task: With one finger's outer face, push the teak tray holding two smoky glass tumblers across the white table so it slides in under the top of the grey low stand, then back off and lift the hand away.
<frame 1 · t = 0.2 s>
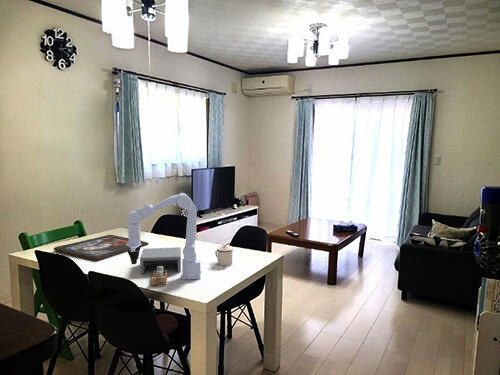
hand: (135, 261, 184), 10 cm above the table, tool pointing down, fingers open, 7 cm apart
grey low stand: (161, 267, 205), on the table
teak tray: (159, 279, 186), on the table
teacup with lid: (223, 263, 214), on the table
religious icon: (102, 249, 241), on the table
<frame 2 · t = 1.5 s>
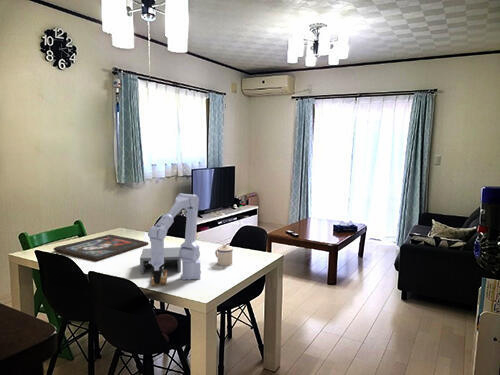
hand: (157, 280, 170), 6 cm above the table, tool pointing down, fingers open, 7 cm apart
nothing on the table moved.
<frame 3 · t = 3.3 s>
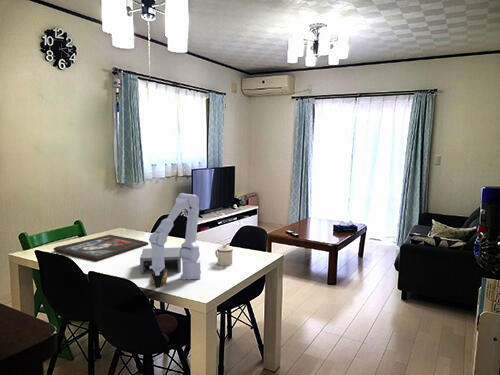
hand: (158, 284, 175), 2 cm above the table, tool pointing down, fingers open, 7 cm apart
teak tray: (159, 279, 187), on the table, touching gripper
everything else where it was.
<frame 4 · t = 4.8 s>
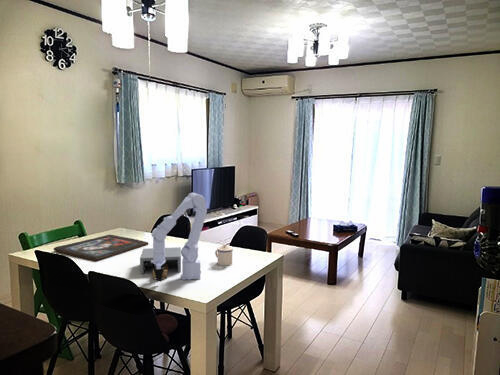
hand: (159, 278, 183), 2 cm above the table, tool pointing down, fingers open, 7 cm apart
teak tray: (160, 273, 196), on the table, touching gripper
everything else where it was.
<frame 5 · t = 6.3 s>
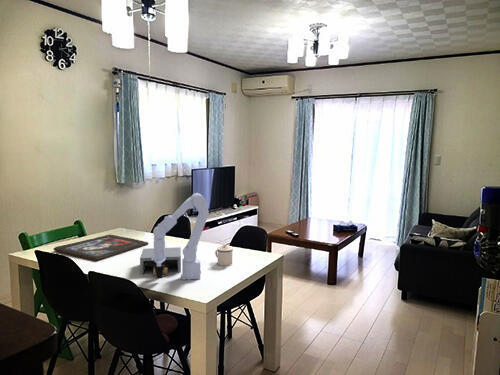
hand: (159, 275, 187), 2 cm above the table, tool pointing down, fingers open, 7 cm apart
teak tray: (161, 270, 200), on the table, touching gripper
everything else where it was.
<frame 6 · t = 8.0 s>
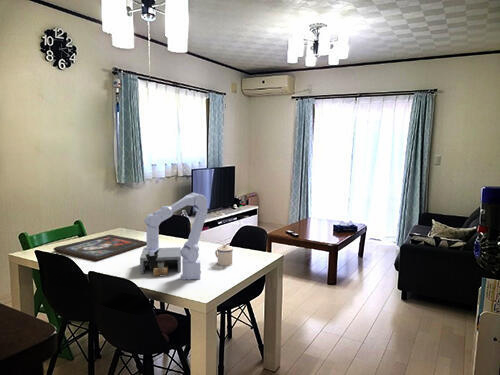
hand: (152, 265, 179), 10 cm above the table, tool pointing down, fingers open, 7 cm apart
teak tray: (161, 270, 200), on the table
everything else where it was.
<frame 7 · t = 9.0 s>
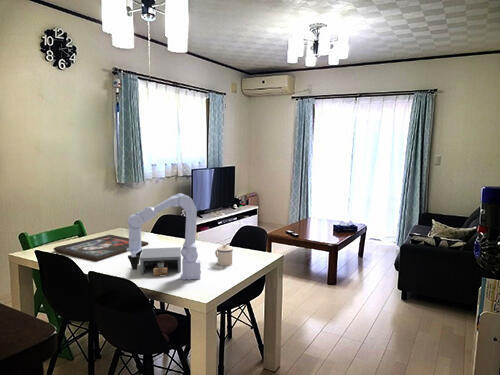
hand: (135, 267, 177), 9 cm above the table, tool pointing down, fingers open, 7 cm apart
nothing on the table moved.
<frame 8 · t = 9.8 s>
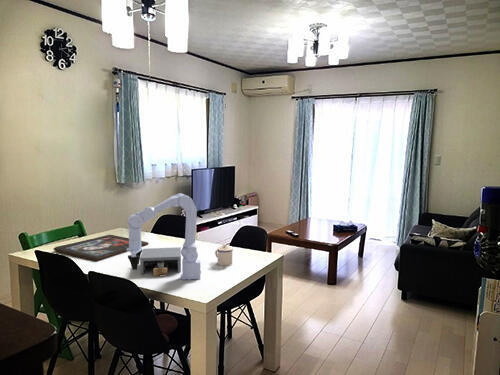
hand: (135, 267, 177), 9 cm above the table, tool pointing down, fingers open, 7 cm apart
nothing on the table moved.
at the end: teak tray inside the target area (3.7 cm from its centre), on the table; teak tray tilted 0°; the gripper is holding nothing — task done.
